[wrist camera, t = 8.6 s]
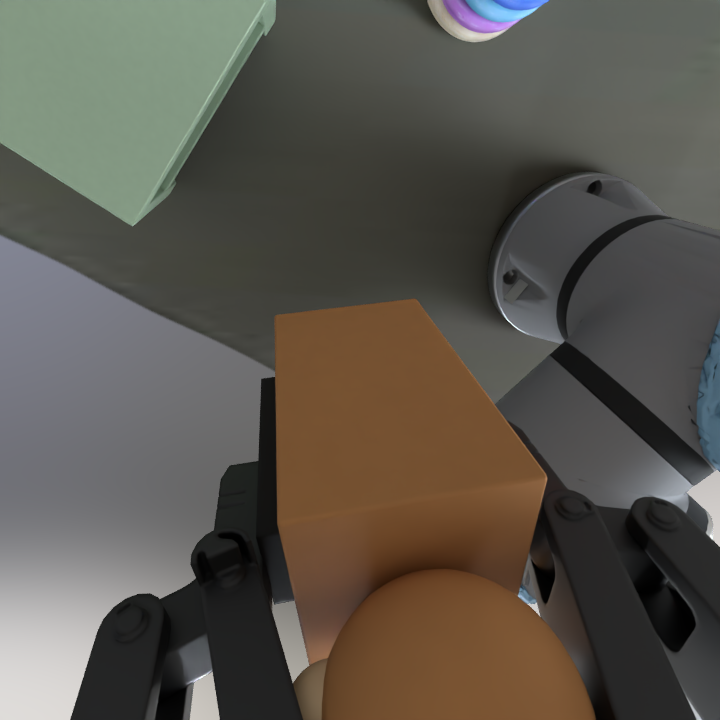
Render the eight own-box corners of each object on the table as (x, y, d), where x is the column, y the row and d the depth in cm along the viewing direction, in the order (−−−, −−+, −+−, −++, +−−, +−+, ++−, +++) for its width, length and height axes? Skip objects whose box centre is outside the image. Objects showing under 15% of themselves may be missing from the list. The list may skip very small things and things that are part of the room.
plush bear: (416, 297, 16) (873, 906, 4) (413, 430, 19) (653, 980, 7) (262, 315, 15) (227, 1128, 3) (287, 450, 18) (316, 1095, 6)
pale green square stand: (275, 19, 28) (277, -17, 20) (169, 195, 32) (132, 227, 24) (68, -188, 23) (-55, -364, 14) (-30, 58, 27) (-171, 36, 18)
